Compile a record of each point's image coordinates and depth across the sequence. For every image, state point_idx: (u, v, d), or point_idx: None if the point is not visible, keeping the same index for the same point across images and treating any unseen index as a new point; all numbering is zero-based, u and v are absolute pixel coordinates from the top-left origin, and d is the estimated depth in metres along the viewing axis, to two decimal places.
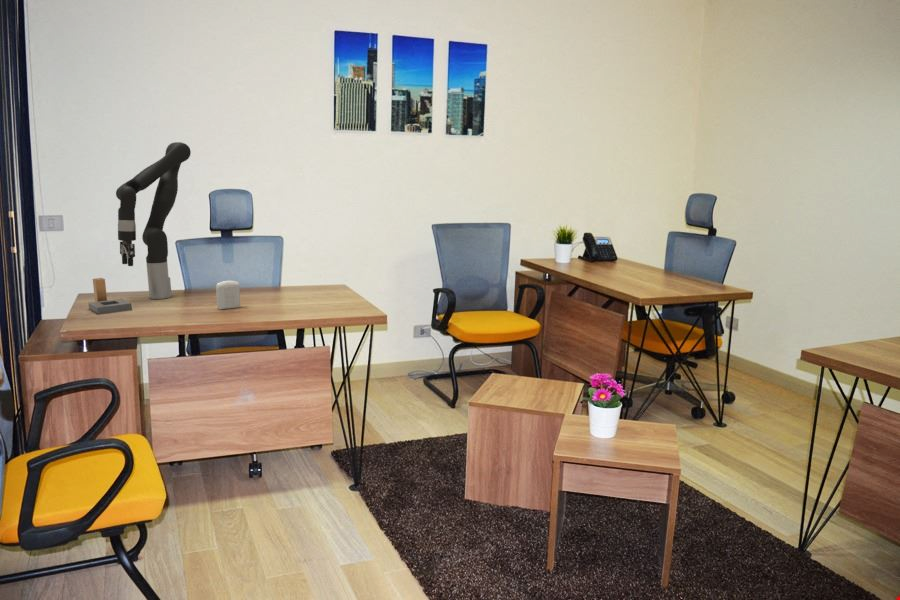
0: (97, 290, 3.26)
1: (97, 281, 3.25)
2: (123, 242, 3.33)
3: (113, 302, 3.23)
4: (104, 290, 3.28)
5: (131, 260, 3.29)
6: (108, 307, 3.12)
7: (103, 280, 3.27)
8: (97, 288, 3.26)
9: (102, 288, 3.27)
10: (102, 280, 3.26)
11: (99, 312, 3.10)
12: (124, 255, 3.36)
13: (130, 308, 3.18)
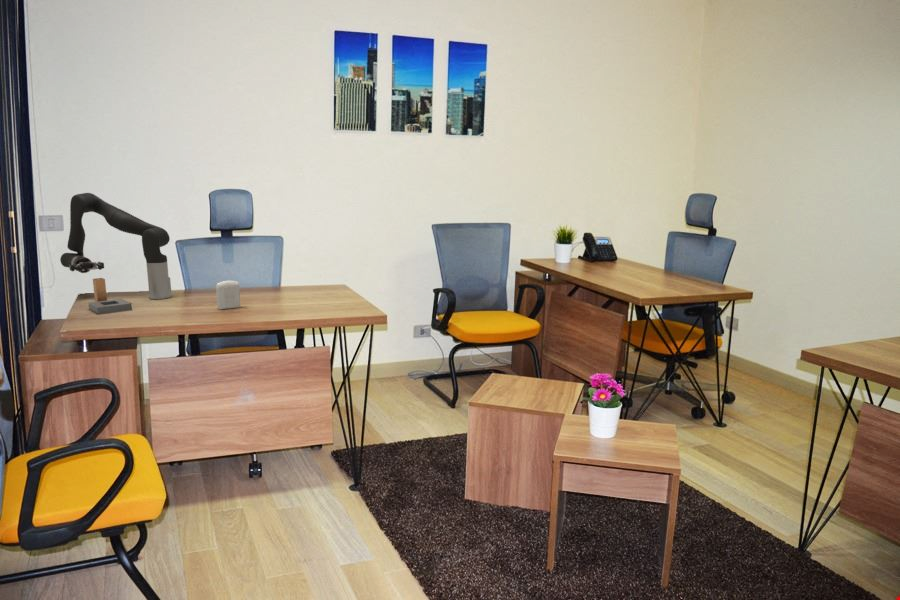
0: (97, 290, 3.26)
1: (97, 281, 3.25)
2: None
3: (113, 302, 3.23)
4: (104, 290, 3.28)
5: (77, 268, 3.34)
6: (108, 307, 3.12)
7: (103, 280, 3.27)
8: (97, 288, 3.26)
9: (102, 288, 3.27)
10: (102, 280, 3.26)
11: (99, 312, 3.10)
12: None
13: (130, 308, 3.18)
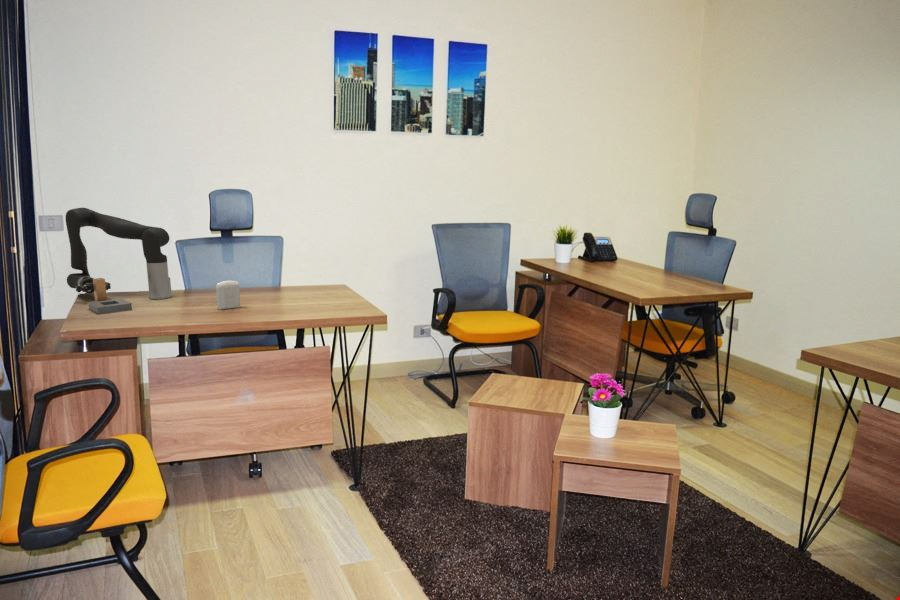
0: (97, 290, 3.26)
1: (97, 281, 3.25)
2: None
3: (113, 302, 3.23)
4: (104, 290, 3.28)
5: (83, 289, 3.31)
6: (108, 307, 3.12)
7: (103, 280, 3.27)
8: (97, 288, 3.26)
9: (102, 288, 3.27)
10: (102, 280, 3.26)
11: (99, 312, 3.10)
12: None
13: (130, 308, 3.18)
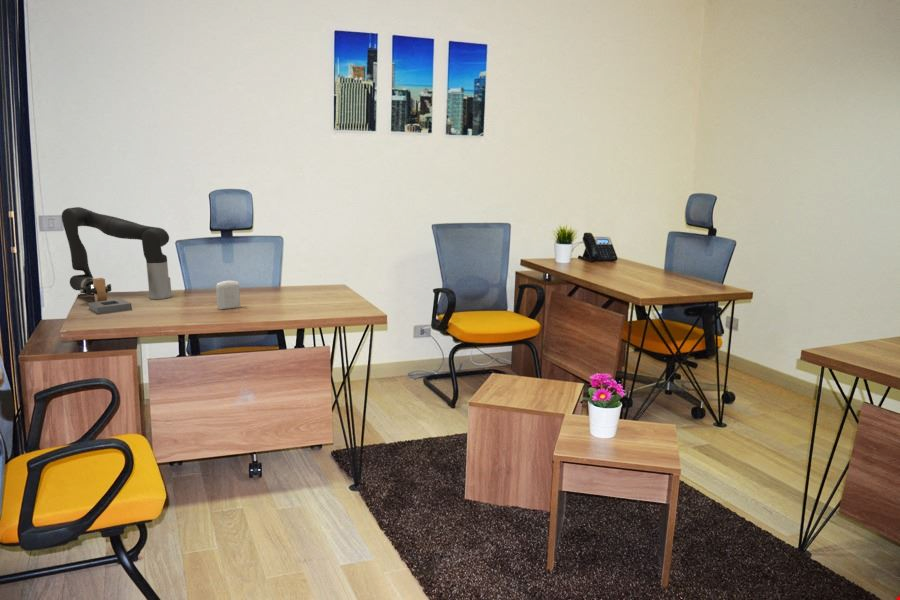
0: (97, 290, 3.26)
1: (97, 281, 3.25)
2: None
3: (113, 302, 3.23)
4: (104, 290, 3.28)
5: (92, 291, 3.26)
6: (108, 307, 3.12)
7: (103, 280, 3.27)
8: (97, 288, 3.26)
9: (102, 288, 3.27)
10: (102, 280, 3.26)
11: (99, 312, 3.10)
12: None
13: (130, 308, 3.18)
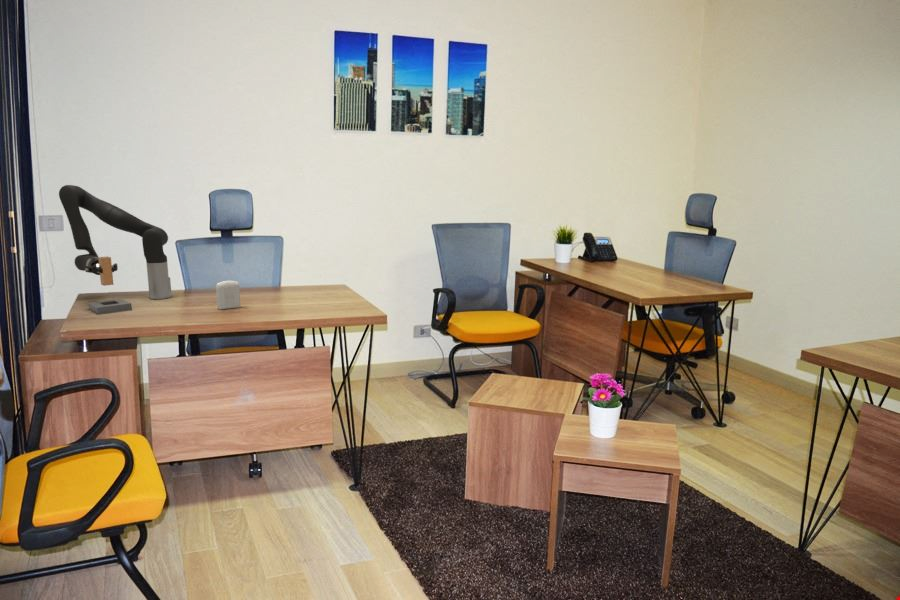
0: (103, 269, 3.13)
1: (103, 259, 3.13)
2: None
3: (113, 302, 3.23)
4: (110, 269, 3.15)
5: (97, 270, 3.14)
6: (108, 307, 3.12)
7: (109, 259, 3.14)
8: (103, 267, 3.13)
9: (108, 267, 3.14)
10: (108, 258, 3.14)
11: (99, 312, 3.10)
12: None
13: (130, 308, 3.18)
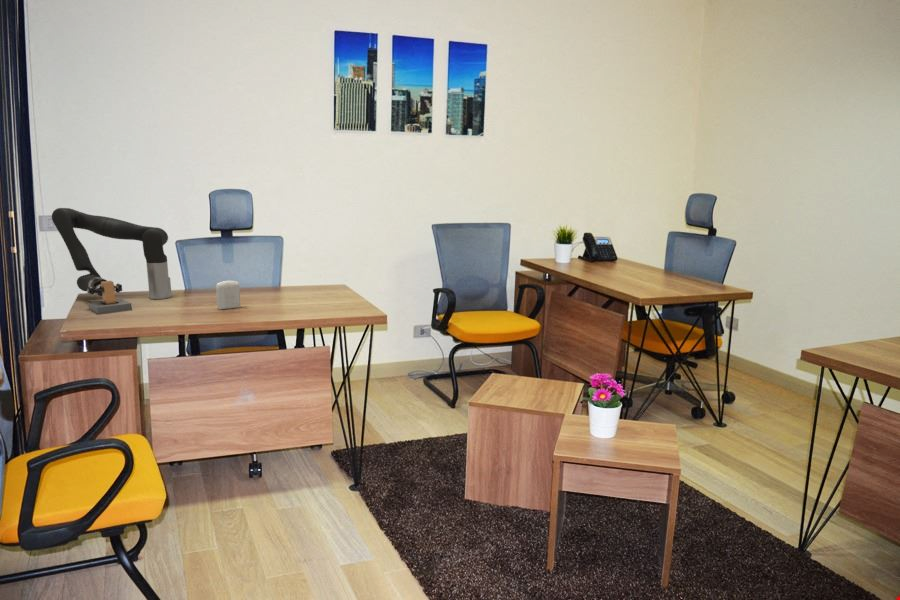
0: (105, 293, 3.15)
1: (105, 284, 3.14)
2: None
3: None
4: (113, 293, 3.17)
5: (96, 291, 3.15)
6: (108, 307, 3.12)
7: (111, 283, 3.16)
8: (105, 291, 3.15)
9: (110, 291, 3.16)
10: (110, 283, 3.16)
11: (99, 312, 3.10)
12: (115, 289, 3.21)
13: (130, 308, 3.18)
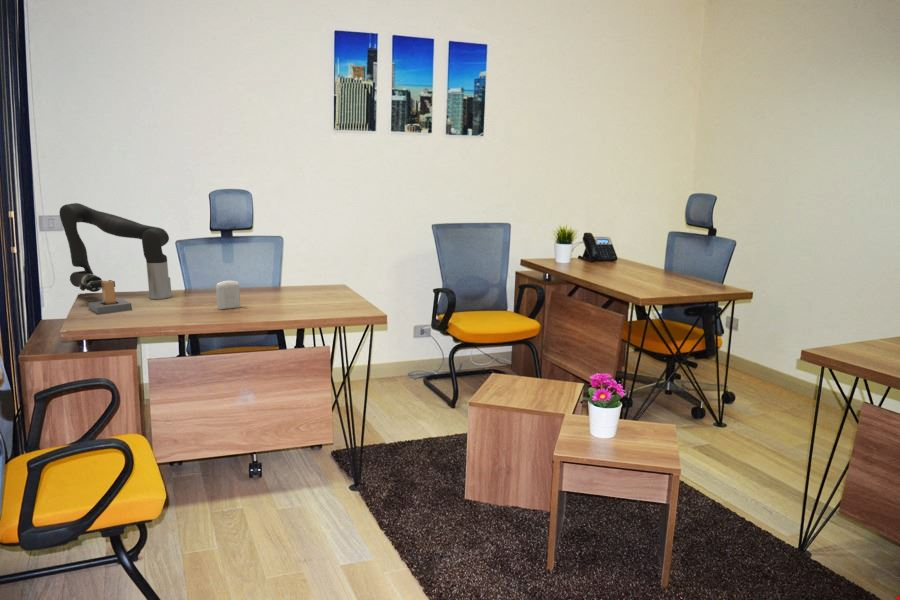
0: (106, 293, 3.15)
1: (106, 284, 3.15)
2: None
3: None
4: (113, 293, 3.17)
5: (87, 287, 3.24)
6: (108, 307, 3.12)
7: (112, 283, 3.16)
8: (106, 291, 3.15)
9: (111, 292, 3.16)
10: (111, 283, 3.16)
11: (99, 312, 3.10)
12: None
13: (130, 308, 3.18)
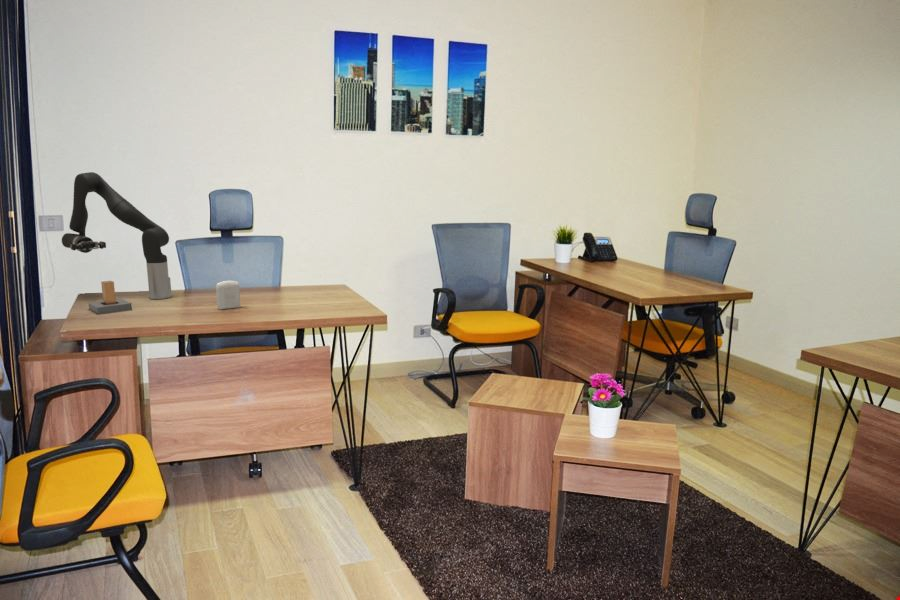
0: (106, 293, 3.15)
1: (106, 284, 3.15)
2: None
3: None
4: (113, 293, 3.17)
5: (78, 247, 3.27)
6: (108, 307, 3.12)
7: (112, 283, 3.16)
8: (106, 291, 3.15)
9: (111, 292, 3.16)
10: (111, 283, 3.16)
11: (99, 312, 3.10)
12: (99, 245, 3.34)
13: (130, 308, 3.18)
